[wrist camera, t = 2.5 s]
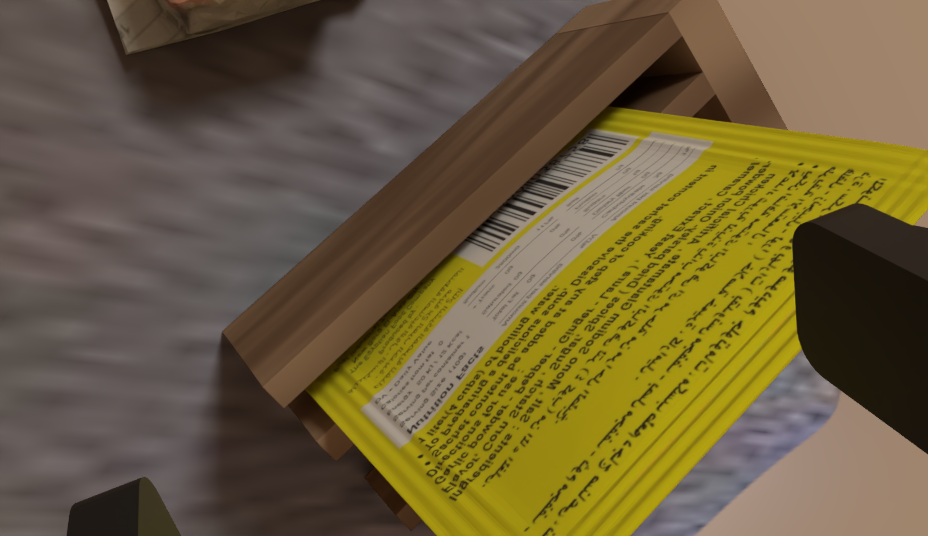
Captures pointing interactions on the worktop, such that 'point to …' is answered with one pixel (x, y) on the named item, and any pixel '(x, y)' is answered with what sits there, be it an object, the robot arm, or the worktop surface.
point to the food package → (602, 323)
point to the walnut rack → (488, 184)
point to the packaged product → (185, 18)
